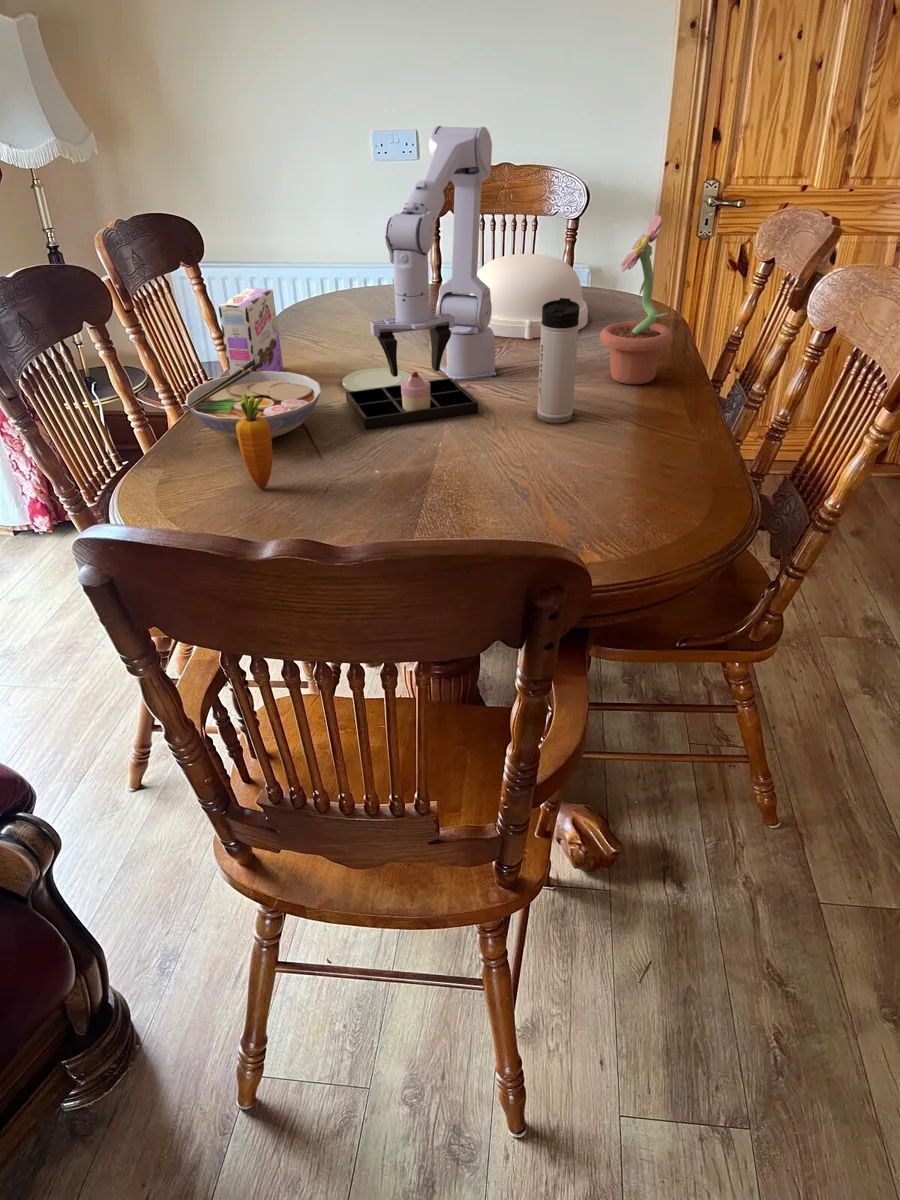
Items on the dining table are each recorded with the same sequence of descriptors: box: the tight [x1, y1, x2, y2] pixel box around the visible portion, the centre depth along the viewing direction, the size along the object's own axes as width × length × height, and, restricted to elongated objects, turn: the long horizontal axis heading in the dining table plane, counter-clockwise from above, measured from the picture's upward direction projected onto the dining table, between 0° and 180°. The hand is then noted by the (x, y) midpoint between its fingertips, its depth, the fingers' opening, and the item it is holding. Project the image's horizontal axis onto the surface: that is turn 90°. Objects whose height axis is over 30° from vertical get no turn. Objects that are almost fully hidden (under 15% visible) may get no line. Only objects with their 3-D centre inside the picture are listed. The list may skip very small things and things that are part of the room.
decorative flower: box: [599, 214, 674, 385], centre depth 159 cm, size 15×14×30 cm
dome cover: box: [469, 253, 589, 340], centre depth 198 cm, size 32×30×14 cm
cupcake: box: [401, 371, 430, 412], centre depth 150 cm, size 5×5×8 cm
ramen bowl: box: [176, 361, 322, 440], centre depth 144 cm, size 25×23×8 cm
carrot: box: [236, 394, 274, 491], centre depth 124 cm, size 5×5×15 cm
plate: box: [341, 367, 412, 392], centre depth 167 cm, size 14×14×1 cm
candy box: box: [217, 288, 284, 376], centre depth 165 cm, size 14×6×16 cm, turn 168°
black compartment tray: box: [345, 377, 479, 431], centre depth 154 cm, size 14×21×2 cm
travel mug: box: [536, 298, 579, 425], centre depth 145 cm, size 6×7×20 cm
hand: (415, 372), depth 148 cm, fingers open, 7 cm apart
